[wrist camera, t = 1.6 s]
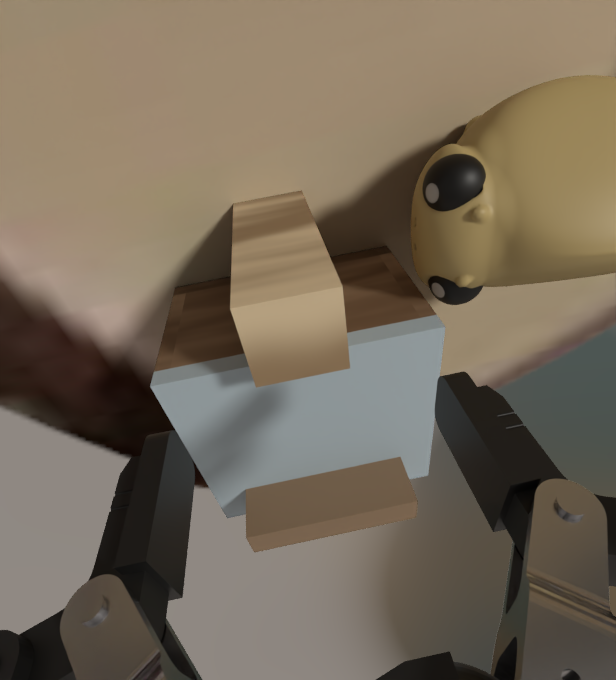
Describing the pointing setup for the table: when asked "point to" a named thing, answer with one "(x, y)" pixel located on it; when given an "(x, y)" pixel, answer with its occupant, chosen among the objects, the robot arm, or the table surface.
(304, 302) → the tan tall block
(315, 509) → the lid
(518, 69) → the table surface
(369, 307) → the chest
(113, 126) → the table surface
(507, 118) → the tan toy creature
